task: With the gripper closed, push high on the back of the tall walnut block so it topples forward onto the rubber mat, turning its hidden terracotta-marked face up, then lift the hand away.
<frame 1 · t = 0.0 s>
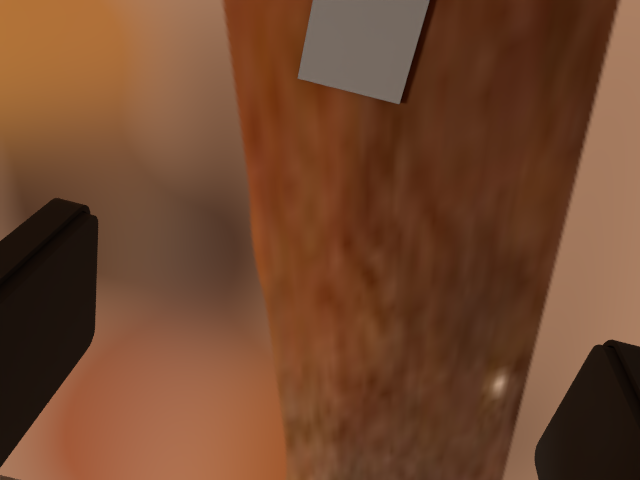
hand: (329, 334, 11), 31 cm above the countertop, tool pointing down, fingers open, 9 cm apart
mat: (367, 13, 38), on the countertop
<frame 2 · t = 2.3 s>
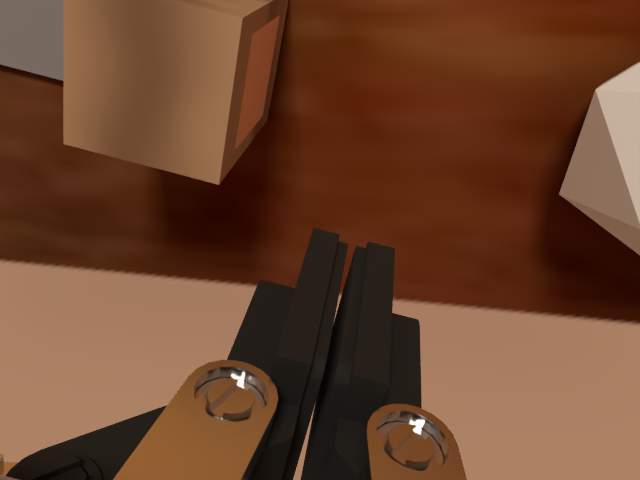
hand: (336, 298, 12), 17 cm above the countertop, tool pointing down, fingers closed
block: (215, 42, 28), on the countertop
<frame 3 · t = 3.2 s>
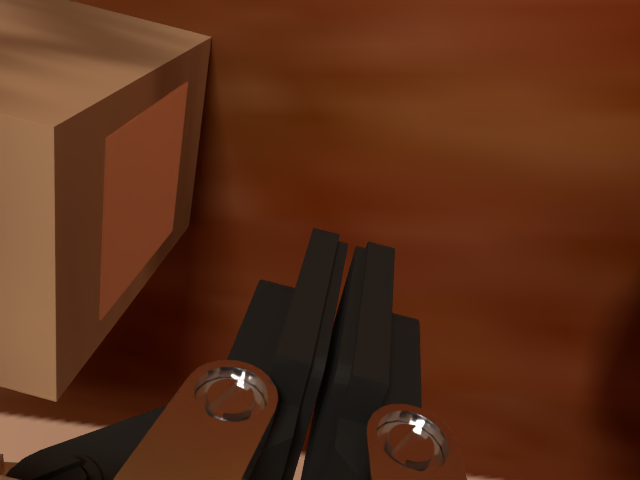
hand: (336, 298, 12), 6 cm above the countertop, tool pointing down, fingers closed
block: (102, 113, 18), on the countertop
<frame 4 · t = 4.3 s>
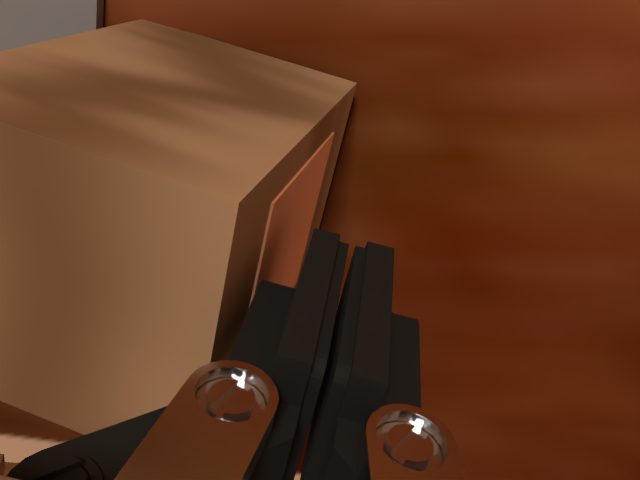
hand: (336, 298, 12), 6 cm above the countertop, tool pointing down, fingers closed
block: (231, 154, 17), on the countertop, tilted 7°, touching gripper
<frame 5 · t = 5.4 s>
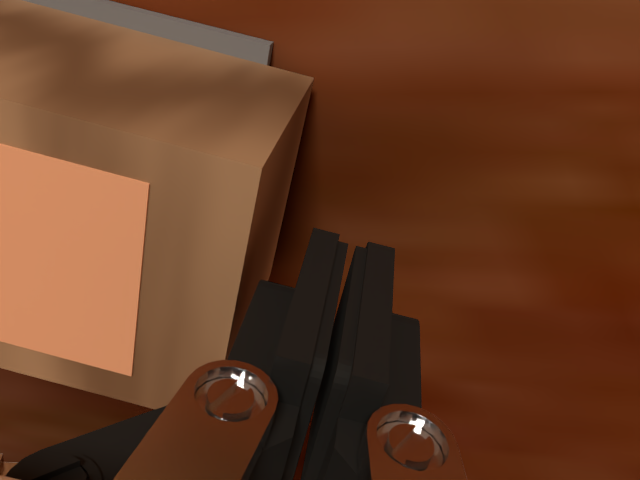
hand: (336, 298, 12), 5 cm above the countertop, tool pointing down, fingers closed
block: (267, 237, 14), point 3 cm above the countertop, tilted 90°, touching mat
mat: (78, 124, 17), on the countertop
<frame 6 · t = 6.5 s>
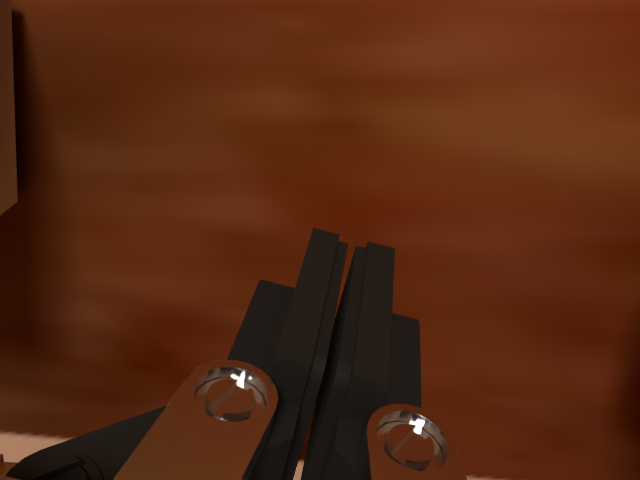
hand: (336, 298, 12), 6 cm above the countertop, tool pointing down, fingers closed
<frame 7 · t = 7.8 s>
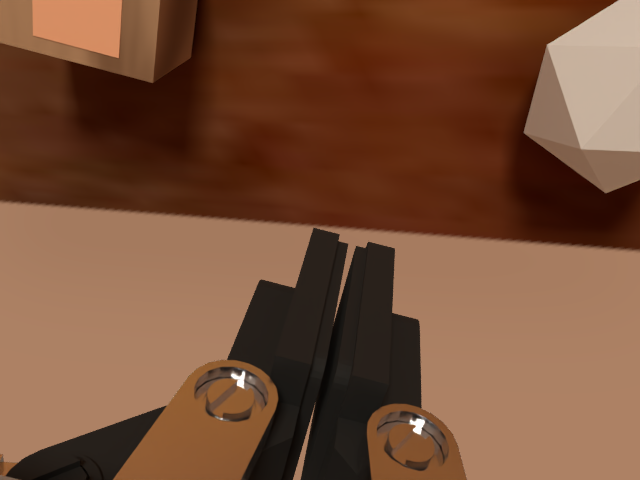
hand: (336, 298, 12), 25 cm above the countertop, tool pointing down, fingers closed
block: (179, 12, 31), point 3 cm above the countertop, tilted 90°, touching mat
die: (599, 74, 33), on the countertop
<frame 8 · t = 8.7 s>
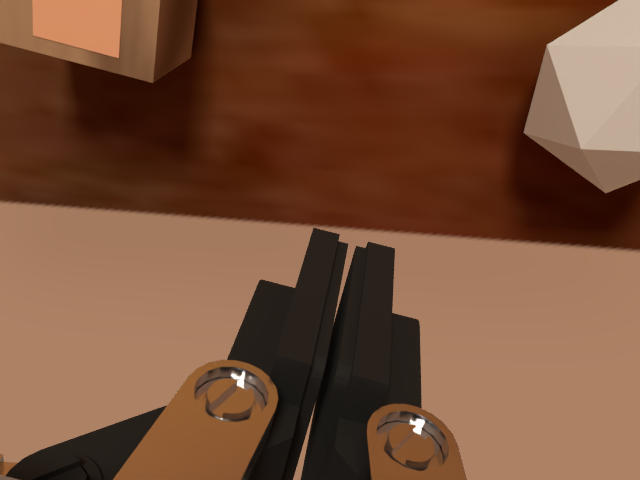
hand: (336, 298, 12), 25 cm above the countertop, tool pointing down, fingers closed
block: (179, 12, 31), point 3 cm above the countertop, tilted 90°, touching mat
die: (599, 74, 33), on the countertop
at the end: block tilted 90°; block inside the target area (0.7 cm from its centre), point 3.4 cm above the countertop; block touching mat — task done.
